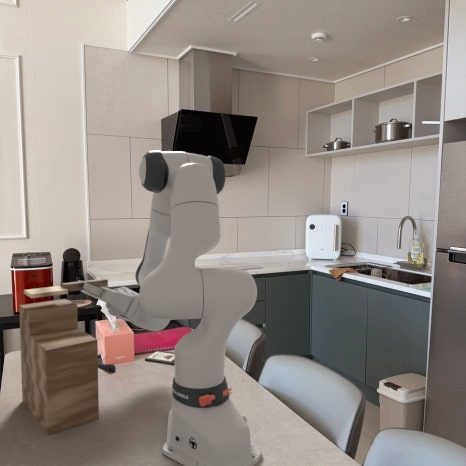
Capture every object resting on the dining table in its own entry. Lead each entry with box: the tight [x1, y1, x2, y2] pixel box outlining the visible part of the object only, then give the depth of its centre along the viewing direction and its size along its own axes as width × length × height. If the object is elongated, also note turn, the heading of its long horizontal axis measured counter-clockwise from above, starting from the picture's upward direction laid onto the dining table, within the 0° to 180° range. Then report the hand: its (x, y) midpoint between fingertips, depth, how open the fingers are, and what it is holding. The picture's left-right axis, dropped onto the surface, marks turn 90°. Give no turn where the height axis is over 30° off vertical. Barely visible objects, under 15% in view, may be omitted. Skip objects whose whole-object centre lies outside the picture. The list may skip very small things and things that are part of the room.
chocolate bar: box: [144, 350, 175, 366], centre depth 151 cm, size 9×1×18 cm
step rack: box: [18, 298, 100, 436], centre depth 114 cm, size 22×12×26 cm, turn 39°
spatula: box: [23, 278, 109, 299], centre depth 121 cm, size 21×7×2 cm, turn 129°
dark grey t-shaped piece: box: [98, 353, 117, 373], centre depth 144 cm, size 14×15×3 cm
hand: (80, 283), depth 123 cm, fingers closed on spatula, 2 cm apart
